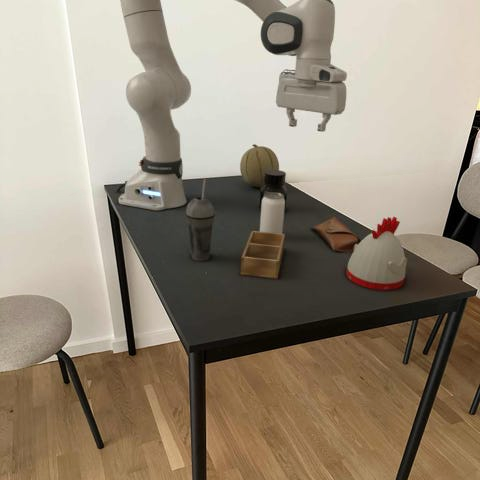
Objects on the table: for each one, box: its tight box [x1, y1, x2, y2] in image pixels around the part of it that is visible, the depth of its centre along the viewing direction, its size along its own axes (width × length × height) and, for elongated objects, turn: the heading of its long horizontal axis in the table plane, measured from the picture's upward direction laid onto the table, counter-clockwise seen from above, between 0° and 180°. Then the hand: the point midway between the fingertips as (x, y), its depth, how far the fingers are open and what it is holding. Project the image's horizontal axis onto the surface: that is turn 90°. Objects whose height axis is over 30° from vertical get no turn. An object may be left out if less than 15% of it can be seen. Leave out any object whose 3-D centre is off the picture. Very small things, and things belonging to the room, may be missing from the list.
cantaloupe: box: [239, 143, 280, 189], centre depth 170 cm, size 15×15×15 cm
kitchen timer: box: [345, 216, 408, 291], centre depth 109 cm, size 14×14×15 cm
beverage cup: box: [185, 178, 216, 262], centre depth 113 cm, size 7×7×20 cm
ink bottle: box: [258, 169, 288, 211], centre depth 149 cm, size 10×9×12 cm
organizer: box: [240, 230, 286, 279], centre depth 116 cm, size 9×17×5 cm, turn 171°
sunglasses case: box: [311, 215, 362, 253], centre depth 132 cm, size 18×7×7 cm
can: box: [259, 192, 285, 234], centre depth 129 cm, size 6×6×12 cm
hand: (306, 128), depth 125 cm, fingers open, 8 cm apart
